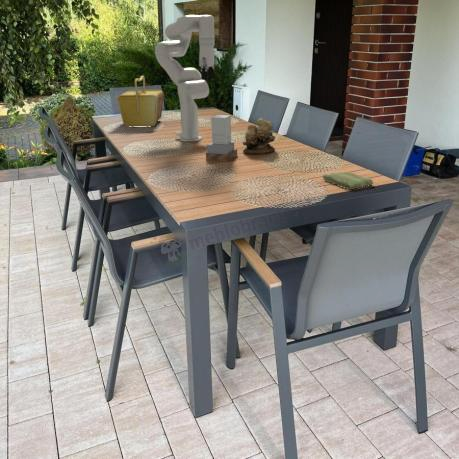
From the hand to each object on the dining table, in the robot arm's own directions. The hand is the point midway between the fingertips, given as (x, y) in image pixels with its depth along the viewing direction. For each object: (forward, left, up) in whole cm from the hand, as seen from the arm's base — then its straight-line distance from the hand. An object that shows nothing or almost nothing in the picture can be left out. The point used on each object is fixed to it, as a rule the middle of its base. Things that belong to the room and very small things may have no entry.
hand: (208, 78), depth 240 cm
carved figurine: (+29, -6, -35) cm, 46 cm away
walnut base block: (+14, -23, -35) cm, 44 cm away
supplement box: (+15, -23, -27) cm, 39 cm away
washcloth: (+76, -48, -35) cm, 96 cm away
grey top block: (+14, -24, -31) cm, 41 cm away
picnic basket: (-65, +50, -35) cm, 89 cm away
